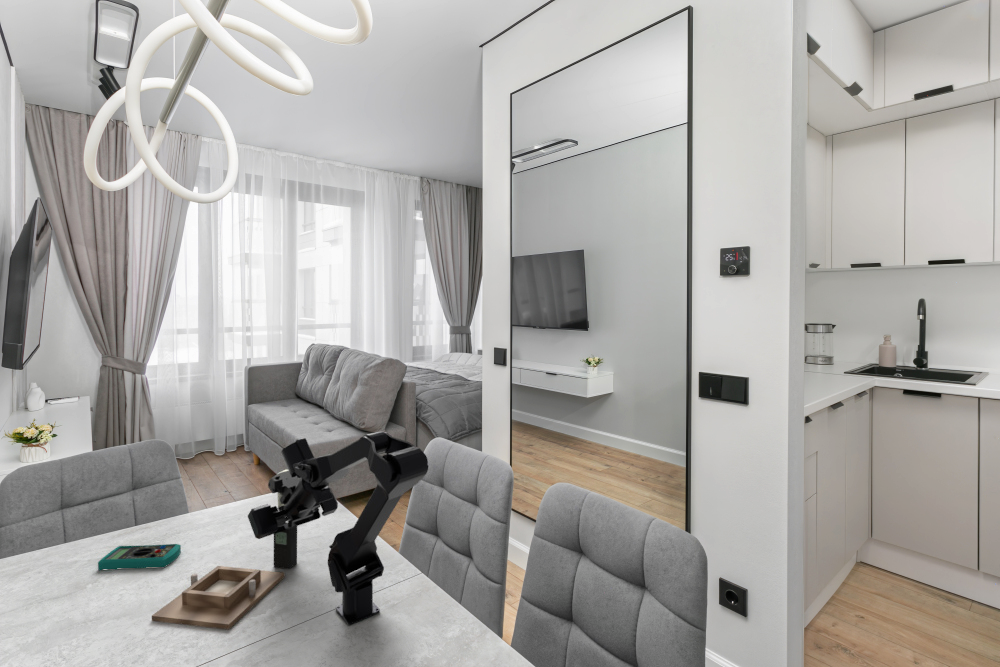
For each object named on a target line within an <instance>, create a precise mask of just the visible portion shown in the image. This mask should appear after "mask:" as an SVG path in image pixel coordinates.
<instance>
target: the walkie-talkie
mask: <svg viewBox="0 0 1000 667" xmlns="http://www.w3.org/2000/svg"><path fill="white" fill-rule="evenodd" d="M284 527H285V529H286V530H285V531H282V532H279V533H276V534H273V567H275V568H280V569H292V568H293V567H294V566H296V565H297V563H298V526H297V524H294V523H291V520H289V521H287V522H286V523H285V525H284Z"/></svg>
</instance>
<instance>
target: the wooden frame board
mask: <svg viewBox="0 0 1000 667" xmlns="http://www.w3.org/2000/svg"><path fill="white" fill-rule="evenodd" d="M285 573H286V572H282V571H281V572H280V571H270V570H261V569H252V568H243V567H232V566H223V565H217V566H216V567H214V568H213V569H211V571H209V572H208V573H206V574H205V575H204V576H202V577H201V578H200V579H199V578H198V573H194V574H191V575H190V586H189V587H187V588H186V589H184V590H183V591H182V592H181V593H180V594H179V595H178V596H177V597H175V598H173V599H172V600H171V601H170V602H169V603H167V604H166V605H164V606H162V608H160V609H159V610H157V611H156V612H154V613H153V614H152V615H151V622H160V623H166V624H167V623H168V624H174V625H175V624H176V625H184V626H185V625H186V626H195V627H203V628H210V629H211V628H212V629H219V630H220V629H222V630H228V631H229V630H230V629H231V628H232V627H234V626H235V625H236V623H238V622H239V621H240V620H241V619H242V618H243V617H244V616H246V614H247V613H248V612H249V611H250V610H251V609H253V607H255V606H256V605H257V604H258V603H259V602H260V601H261V600H262V599H263V598H264V597H265V596H266V595H267V594H268V593H269V592H270V591H271V590H273V589H274V588H275V587H276V586H277V585H278V584H280V582H281V581H282V580H283V579H284V578H285V576H286V575H285Z"/></svg>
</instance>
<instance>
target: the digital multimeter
mask: <svg viewBox="0 0 1000 667" xmlns="http://www.w3.org/2000/svg"><path fill="white" fill-rule="evenodd" d="M181 549H182V548H181V544H179V543H171V544H169V543H168V544H150V545H146V544H145V545H143V544H142V545H119V546H117V547H115V548H114V549H112V550H111V551H109V552H108V553H107V554H106V555H104V556H103V557H102V558H101V559H100V560H98V562H97V566H98V567H97V569H98V571H103V570H102V569H115V570H118V569H117V568H135V569H147V568H146V567H164V568H165V566H166V565H167V566H169V565H171V562H172V563H173V562H174V561H175V560H176V559H177V558H178V557H179V556H180V555H181V552H182V550H181ZM168 564H169V565H168ZM167 566H166V567H167Z"/></svg>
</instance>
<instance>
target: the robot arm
mask: <svg viewBox="0 0 1000 667" xmlns="http://www.w3.org/2000/svg"><path fill="white" fill-rule="evenodd" d="M383 453H385V454H383ZM280 454H281V456H282V458H283V461H284V462H285V466H286V468H287V469H288V470H289V471H285V472H281V471H280V472H281V473H279V472H278V473H279V474H277V473H276V475H273V476H272V477H271V478H270V479H269V481H268V484H267V487H268V489H269V490H270V492H271V494H278V493H280V494H281V495H282V496H281V498H280V502H281V504H284V506H281V507H278V506H276V505H274V506H271V505H270V504H268V503H266V504H263V505H260V506H256V507H253V508H251V510H250V511H249V513H248V515H247V518H248V521H249V523H250V526H251V529H252V532H253V534H254V537H255V539H258V540H260V539H264V538H265V537H269V536H272V535H274V534H276V533H279V532H282V531H285V530H286V529H285V527H284V525H285V523H287V522H288V521H289V520H291V523H294V524H297V527H298V526H301V525H304V524H307V523H310V522H313V521H316V520H318V519H320V518H321V515H322V516H323V517H326V516H328V515H330V514H333V513H335V512H336V511H337V509H338V507H339V505H338V504H339V502H338V500H337V498H336V495H335V494H334V491H333V490H332V488H331V487H330V483H333V482H336V481H340V480H342V479H343V478H344V477H345V476H347V475H348V474H349V472H350V469H352V468H353V467H355V466H357V465H359V464H361V463H363V462H365V461H367V462H368V468H369V471H370V472H371V473H372V474H374V478H375V480H376V483H377V485H376V487H375V489H374V490H373V492H372V494H371V495H370V497H369V499H368V501H367V502H366V505H365V506H364V508H363V510H362V511H361V513H360V515H359V517H358V519H357V520H356V522H355V524H354V526H353V527H351V528H349V529H346V530H344V531H341V532H339V533H336V535H335V537H334V539H333V542H332V543H331V544H330V545H329V546H328V547H329V549H330V550H329V553H328V558H327V567H328V571H329V572H328V573H329V575H330V576H329V577H330V581H331V586H332V587H334V592H336V593H342V604H340V605H337V606H335V611H336V612H337V614H338V615H339V616H340V617H341V618H342V619H343V620H344V621H345V623H346V624H347V625H348V626H349V625H350V626H351V625H354V624H356V623H358V622H360V621H363V620H365V619H367V618H369V617H372V616H375V615H377V614H379V613H380V611H381V610H380V608H379V607H378V605H376V604H375V602H373V591H374V590H373V587H374V585H373V581H374V580H375V579H377V578H379V577H382V576H383V573H384V572H385V566H384V565H383V563H382V562H383V561H381V559H380V556H379V554H378V552H377V550H378V547H377V543H376V540H377V538H378V536H379V535H380V533H381V531H382V530H383V527H384V526H385V524H386V523H387V521H388V519H389V518H390V516H391V514H392V513H393V511H394V509H395V508H396V507H397V504H398V503H399V501H400V499H401V498H402V496H403V495H404V494H405V493H406V492H408V491H409V490H411V489H412V488H413V487H415V486H416V485H417V484H418V483H419V482H420V481H421V480H422V479H423V478H424V477H425V476H426V475H427V474H428V471H429V465H428V464H429V461H428V457H427V455H426V453H424V451H423V450H422V449H421V448H420V447H418V446H415V444H413V443H412V442H409V441H406V440H403V439H400V438H397V437H395V436H392V435H391V434H390V433H388V432H386V431H383V430H380V431H376V432H372V433H368V434H364V435H362V436H361V437H360V438H359V439H358V440H356V441H353V442H352V443H350V444H348V445H346V446H345V447H342V448H340V449H339V450H337V451H335V452H333V453H332V452H331V453H329V454H325V455H320V456H316V457H315V455H314V453H313V451H312V449H311V446H310V445H309V443H308V440H307V439H306V437H301V438H299V439H298V438H297V439H296V440H295V441H294V442H292V443H290V444H288V445H287V446H286V447H284V448H282V450H281V451H280ZM381 454H383V455H381ZM320 509H322V512H321V513H320Z"/></svg>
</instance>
